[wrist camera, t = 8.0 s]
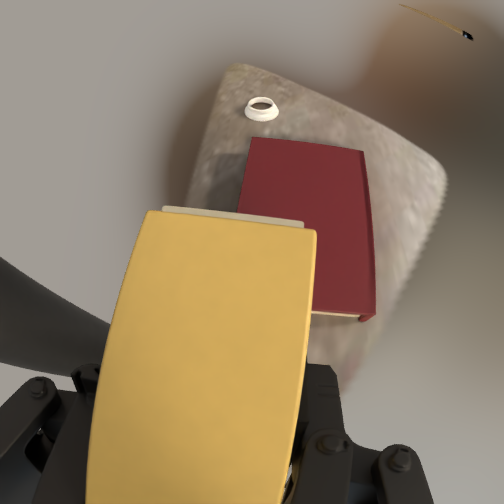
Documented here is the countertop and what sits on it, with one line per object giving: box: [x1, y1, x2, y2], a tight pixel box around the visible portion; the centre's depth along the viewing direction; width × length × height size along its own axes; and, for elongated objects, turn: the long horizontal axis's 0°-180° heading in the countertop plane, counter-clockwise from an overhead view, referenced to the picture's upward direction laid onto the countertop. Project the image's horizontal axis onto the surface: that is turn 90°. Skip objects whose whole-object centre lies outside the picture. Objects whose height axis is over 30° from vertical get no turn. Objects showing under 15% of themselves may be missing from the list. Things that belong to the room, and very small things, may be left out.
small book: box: [85, 206, 317, 504], centre depth 9 cm, size 4×8×12 cm, turn 171°
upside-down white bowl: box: [244, 97, 279, 121], centre depth 32 cm, size 5×3×5 cm
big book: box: [236, 137, 376, 321], centre depth 25 cm, size 16×11×4 cm
